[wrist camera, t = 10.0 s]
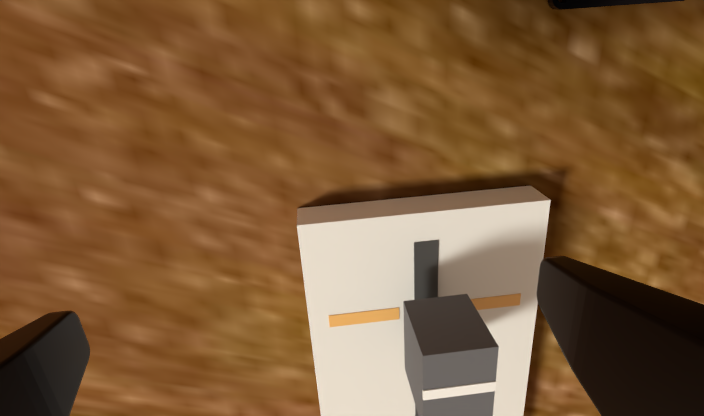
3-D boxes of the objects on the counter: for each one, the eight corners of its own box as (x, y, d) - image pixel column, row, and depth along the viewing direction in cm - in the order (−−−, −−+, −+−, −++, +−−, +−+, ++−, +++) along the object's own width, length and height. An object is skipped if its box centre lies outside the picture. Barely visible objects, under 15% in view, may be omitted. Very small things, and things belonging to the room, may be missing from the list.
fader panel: (530, 185, 22) (551, 200, 21) (501, 463, 31) (513, 492, 29) (297, 208, 22) (296, 225, 20) (332, 487, 30) (334, 518, 28)
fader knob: (458, 278, 21) (499, 347, 17) (455, 343, 23) (492, 422, 18) (397, 285, 21) (422, 356, 17) (399, 350, 23) (423, 431, 18)
